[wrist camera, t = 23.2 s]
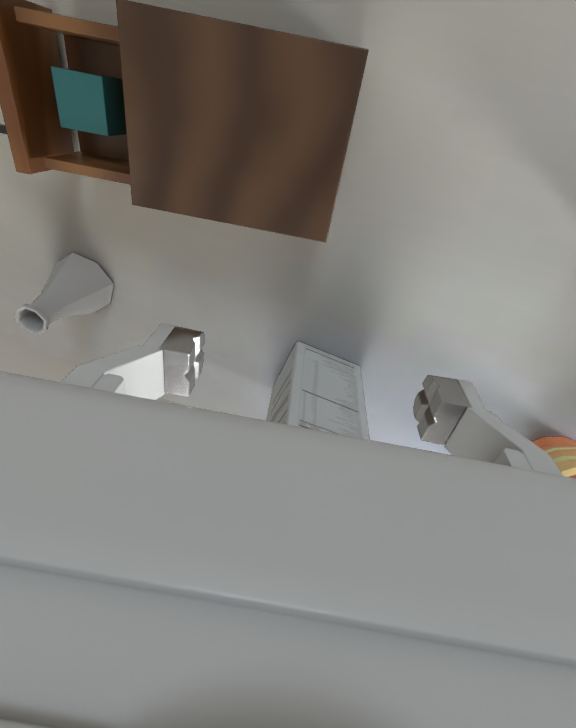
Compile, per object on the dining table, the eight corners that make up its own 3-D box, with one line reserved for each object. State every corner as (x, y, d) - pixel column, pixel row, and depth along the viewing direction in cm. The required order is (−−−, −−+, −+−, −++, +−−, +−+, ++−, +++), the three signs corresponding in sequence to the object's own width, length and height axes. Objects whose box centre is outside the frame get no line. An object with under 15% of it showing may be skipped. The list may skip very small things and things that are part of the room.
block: (79, 70, 31) (50, 65, 28) (125, 79, 31) (101, 76, 28) (86, 125, 34) (60, 127, 30) (130, 134, 34) (108, 136, 30)
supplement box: (270, 389, 52) (248, 490, 38) (296, 338, 47) (281, 434, 33) (331, 413, 53) (331, 519, 39) (363, 366, 48) (376, 469, 34)
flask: (46, 282, 45) (-17, 319, 37) (69, 240, 42) (6, 271, 34) (98, 319, 48) (50, 362, 40) (124, 283, 44) (78, 321, 36)
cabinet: (169, 187, 38) (131, 204, 31) (165, 24, 30) (115, -2, 23) (326, 218, 38) (326, 242, 31) (360, 63, 31) (368, 49, 24)
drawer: (7, 151, 36) (-51, 158, 31) (-32, -8, 30) (-115, -35, 24) (217, 192, 37) (196, 206, 31) (223, 44, 30) (199, 29, 25)
